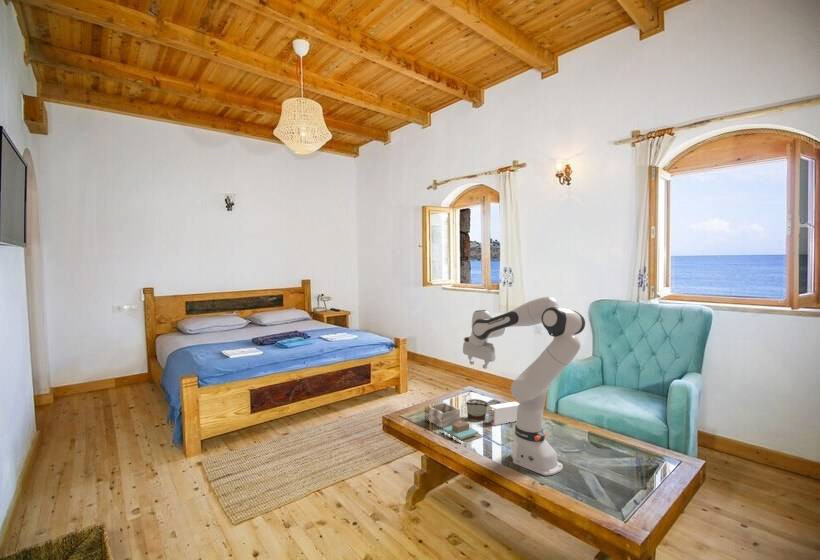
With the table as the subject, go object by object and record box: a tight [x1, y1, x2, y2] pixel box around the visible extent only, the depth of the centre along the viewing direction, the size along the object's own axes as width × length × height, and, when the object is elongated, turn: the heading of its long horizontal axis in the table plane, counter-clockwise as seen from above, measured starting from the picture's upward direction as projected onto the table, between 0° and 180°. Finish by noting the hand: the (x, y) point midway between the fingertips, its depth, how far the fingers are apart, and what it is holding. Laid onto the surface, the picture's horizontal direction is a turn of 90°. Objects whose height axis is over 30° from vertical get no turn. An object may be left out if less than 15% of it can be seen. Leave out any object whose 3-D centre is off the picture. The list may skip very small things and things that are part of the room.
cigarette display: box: [488, 401, 520, 426], centre depth 221 cm, size 20×6×9 cm, turn 116°
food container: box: [465, 398, 489, 422], centre depth 225 cm, size 12×6×10 cm, turn 84°
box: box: [427, 402, 461, 429], centre depth 217 cm, size 12×12×8 cm
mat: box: [461, 434, 482, 443], centre depth 202 cm, size 16×14×1 cm
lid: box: [442, 420, 479, 440], centre depth 202 cm, size 13×13×5 cm
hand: (478, 366), depth 210 cm, fingers open, 8 cm apart
